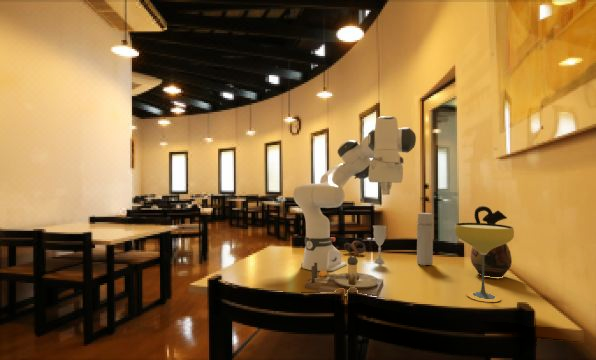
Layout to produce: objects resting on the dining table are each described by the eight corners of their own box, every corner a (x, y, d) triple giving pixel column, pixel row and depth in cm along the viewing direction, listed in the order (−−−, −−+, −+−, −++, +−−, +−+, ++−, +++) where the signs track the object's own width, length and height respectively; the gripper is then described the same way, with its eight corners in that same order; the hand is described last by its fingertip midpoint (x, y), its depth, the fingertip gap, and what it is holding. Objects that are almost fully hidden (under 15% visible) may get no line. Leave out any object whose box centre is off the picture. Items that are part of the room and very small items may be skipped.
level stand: (318, 276, 144) (318, 257, 144) (383, 284, 134) (383, 263, 134) (301, 291, 125) (301, 269, 125) (375, 300, 115) (375, 276, 115)
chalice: (370, 260, 175) (370, 225, 175) (383, 260, 175) (383, 225, 176) (375, 264, 168) (375, 227, 168) (388, 264, 168) (388, 227, 168)
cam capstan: (321, 274, 139) (321, 246, 139) (376, 277, 135) (376, 249, 135) (316, 287, 122) (316, 255, 122) (379, 291, 118) (379, 258, 118)
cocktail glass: (445, 289, 128) (445, 222, 128) (492, 289, 129) (492, 222, 129) (472, 307, 110) (472, 229, 110) (526, 306, 111) (527, 229, 111)
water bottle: (428, 267, 162) (428, 214, 163) (413, 264, 169) (413, 213, 169) (438, 264, 168) (438, 213, 168) (423, 261, 174) (423, 212, 175)
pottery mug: (363, 253, 197) (367, 242, 193) (362, 263, 189) (366, 252, 185) (343, 247, 199) (346, 235, 195) (340, 257, 190) (344, 245, 186)
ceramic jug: (510, 274, 151) (510, 206, 151) (512, 283, 138) (513, 208, 138) (467, 269, 159) (467, 204, 159) (465, 277, 146) (466, 206, 146)
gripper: (379, 156, 121) (379, 195, 121) (406, 159, 136) (405, 194, 136) (364, 156, 125) (364, 194, 125) (391, 160, 140) (391, 194, 140)
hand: (385, 194), depth 131 cm, fingers closed
